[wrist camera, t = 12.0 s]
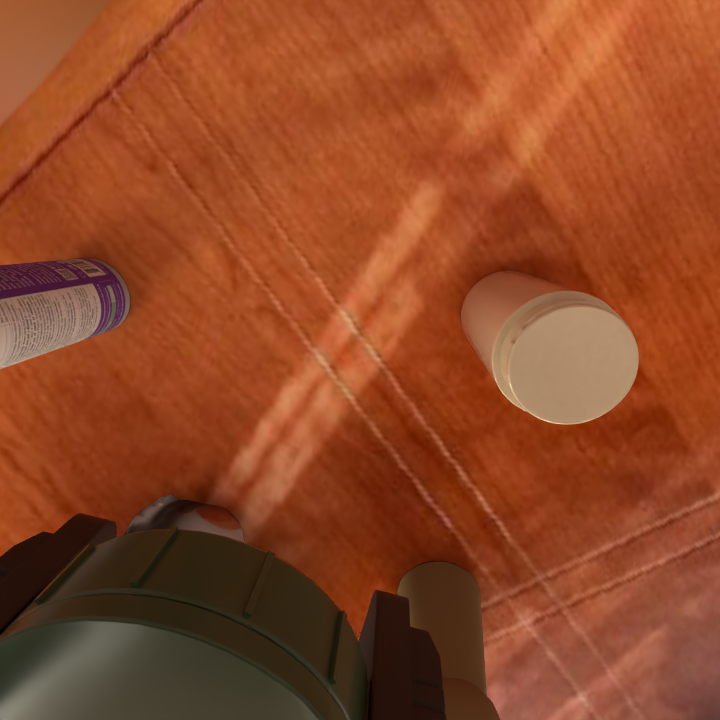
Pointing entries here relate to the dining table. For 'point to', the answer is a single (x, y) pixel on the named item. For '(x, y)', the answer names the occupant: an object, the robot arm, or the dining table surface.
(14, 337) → the container
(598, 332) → the jar
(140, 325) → the dining table surface
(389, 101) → the dining table surface
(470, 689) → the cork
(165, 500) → the lucky cat figurine
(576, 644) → the dining table surface
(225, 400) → the dining table surface
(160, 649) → the lid
